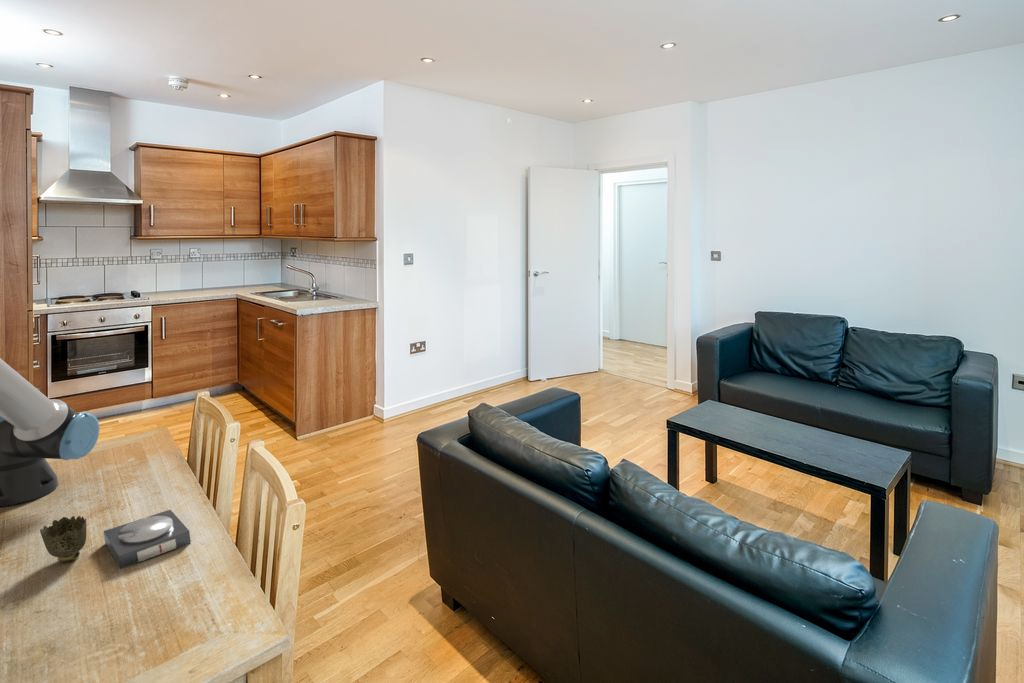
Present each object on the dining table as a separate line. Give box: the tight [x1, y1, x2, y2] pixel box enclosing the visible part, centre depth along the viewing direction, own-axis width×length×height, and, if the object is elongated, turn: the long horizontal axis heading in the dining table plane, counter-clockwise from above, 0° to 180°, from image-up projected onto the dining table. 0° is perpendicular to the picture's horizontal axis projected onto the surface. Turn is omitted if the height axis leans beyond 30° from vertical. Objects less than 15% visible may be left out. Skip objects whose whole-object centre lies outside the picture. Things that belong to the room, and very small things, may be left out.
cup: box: [39, 515, 87, 564], centre depth 114 cm, size 8×7×8 cm
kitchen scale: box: [103, 509, 191, 569], centre depth 120 cm, size 14×13×4 cm
